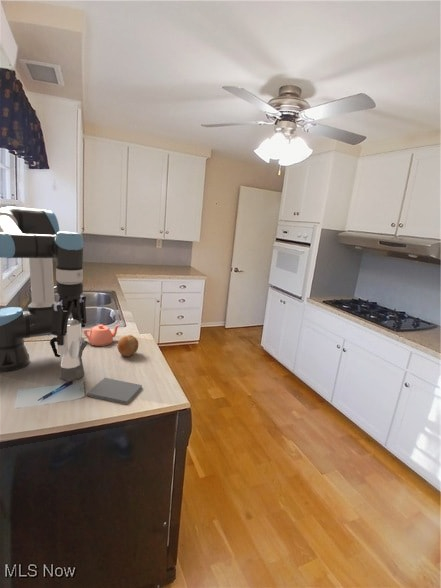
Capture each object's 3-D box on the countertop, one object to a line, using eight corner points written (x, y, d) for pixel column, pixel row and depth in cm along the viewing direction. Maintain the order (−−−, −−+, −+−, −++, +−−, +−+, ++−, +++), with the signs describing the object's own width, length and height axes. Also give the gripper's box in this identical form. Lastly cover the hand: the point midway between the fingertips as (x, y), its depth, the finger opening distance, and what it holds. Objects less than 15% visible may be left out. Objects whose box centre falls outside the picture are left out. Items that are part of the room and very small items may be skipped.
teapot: (82, 339, 159) (82, 322, 157) (117, 336, 169) (117, 320, 167) (85, 348, 149) (85, 330, 147) (122, 344, 159) (123, 327, 157)
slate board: (86, 395, 111) (86, 392, 111) (104, 380, 123) (104, 377, 122) (127, 404, 108) (127, 401, 108) (141, 387, 120) (141, 385, 120)
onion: (125, 349, 153) (125, 330, 151) (142, 353, 150) (143, 334, 148) (112, 356, 144) (113, 336, 142) (130, 361, 141) (131, 340, 139)
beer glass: (56, 362, 103) (55, 320, 100) (78, 358, 107) (78, 317, 104) (61, 371, 98) (61, 327, 94) (84, 366, 102) (84, 324, 99)
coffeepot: (93, 371, 129) (93, 331, 125) (83, 382, 120) (83, 339, 116) (57, 367, 129) (56, 327, 125) (44, 378, 119) (42, 335, 116)
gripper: (58, 289, 86) (59, 363, 91) (98, 278, 105) (97, 340, 110) (35, 285, 87) (37, 359, 93) (78, 275, 106) (78, 337, 111)
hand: (70, 349), depth 101 cm, fingers closed on beer glass, 7 cm apart
